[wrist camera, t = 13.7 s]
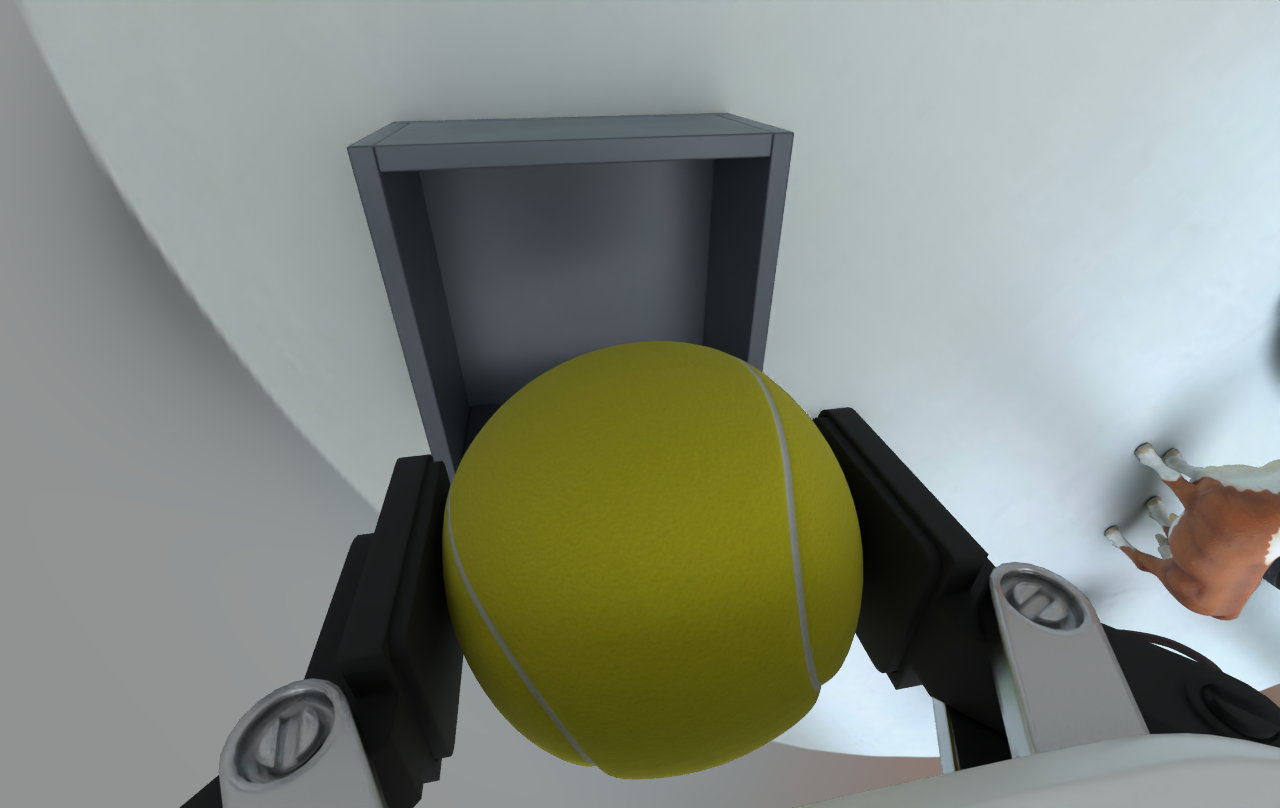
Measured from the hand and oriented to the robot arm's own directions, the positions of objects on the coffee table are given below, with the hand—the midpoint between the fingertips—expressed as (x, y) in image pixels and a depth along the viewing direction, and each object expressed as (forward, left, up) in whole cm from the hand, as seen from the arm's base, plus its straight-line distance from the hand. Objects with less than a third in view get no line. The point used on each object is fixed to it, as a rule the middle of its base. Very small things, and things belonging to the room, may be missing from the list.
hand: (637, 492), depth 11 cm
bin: (0, 0, -13) cm, 13 cm away
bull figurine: (+36, -16, -13) cm, 41 cm away
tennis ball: (0, 0, -2) cm, 2 cm away
